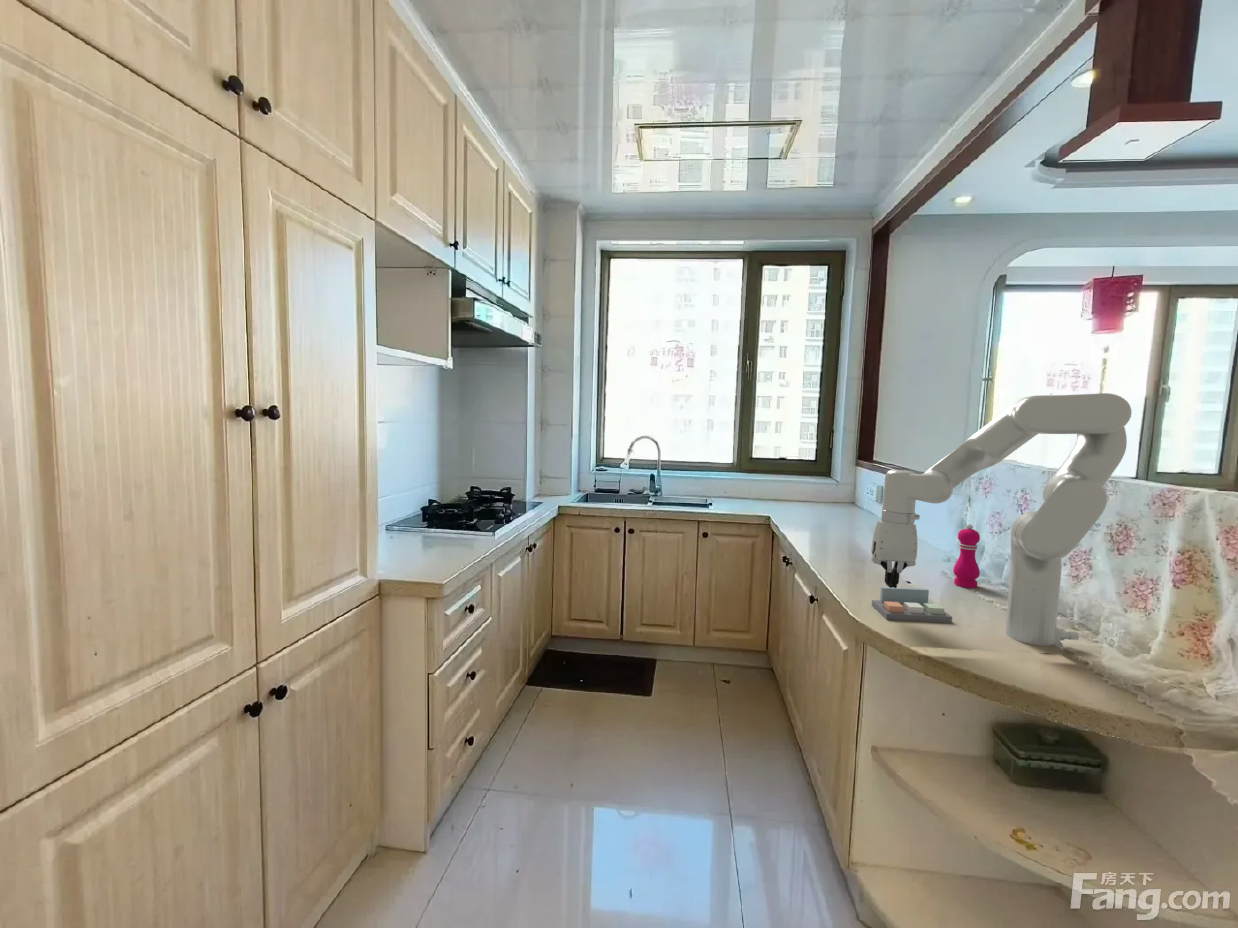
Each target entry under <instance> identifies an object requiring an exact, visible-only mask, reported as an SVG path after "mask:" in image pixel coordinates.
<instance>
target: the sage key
mask: <svg viewBox="0 0 1238 928" xmlns="http://www.w3.org/2000/svg"><path fill="white" fill-rule="evenodd" d="M931 603H932V602H928V603H923V607H924V611H926V612H927V613H928V614H942V615H944V611H945V608H944V607H943V606H941V605H940V604H939V603H934V604H931Z"/></svg>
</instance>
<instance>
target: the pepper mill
mask: <svg viewBox="0 0 1238 928" xmlns="http://www.w3.org/2000/svg"><path fill="white" fill-rule="evenodd" d="M965 527H966V528H963V529H961V530H960V531H958V533H957V539H958V541H959V543H958V547H959V549H960V551H959V557H958V559H957V560H956V562H955V564H954V567H953V568H952V569H953V570H952V571H953V574H954V576H956V577H954V581H953V582H954V585H956V586H957V587H961V588H966V589H976V588H977V587H978V580H977V579H978V578H979V577H980V575H981V572H980V567H979V565H978V562H977V560H976V551H977V550H978V543H980V541H981V535H980V534H979V532H978V531H977V530H975V529H973V528H974V527H973V525H972V524H971V523H968V524H966V525H965Z"/></svg>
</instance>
